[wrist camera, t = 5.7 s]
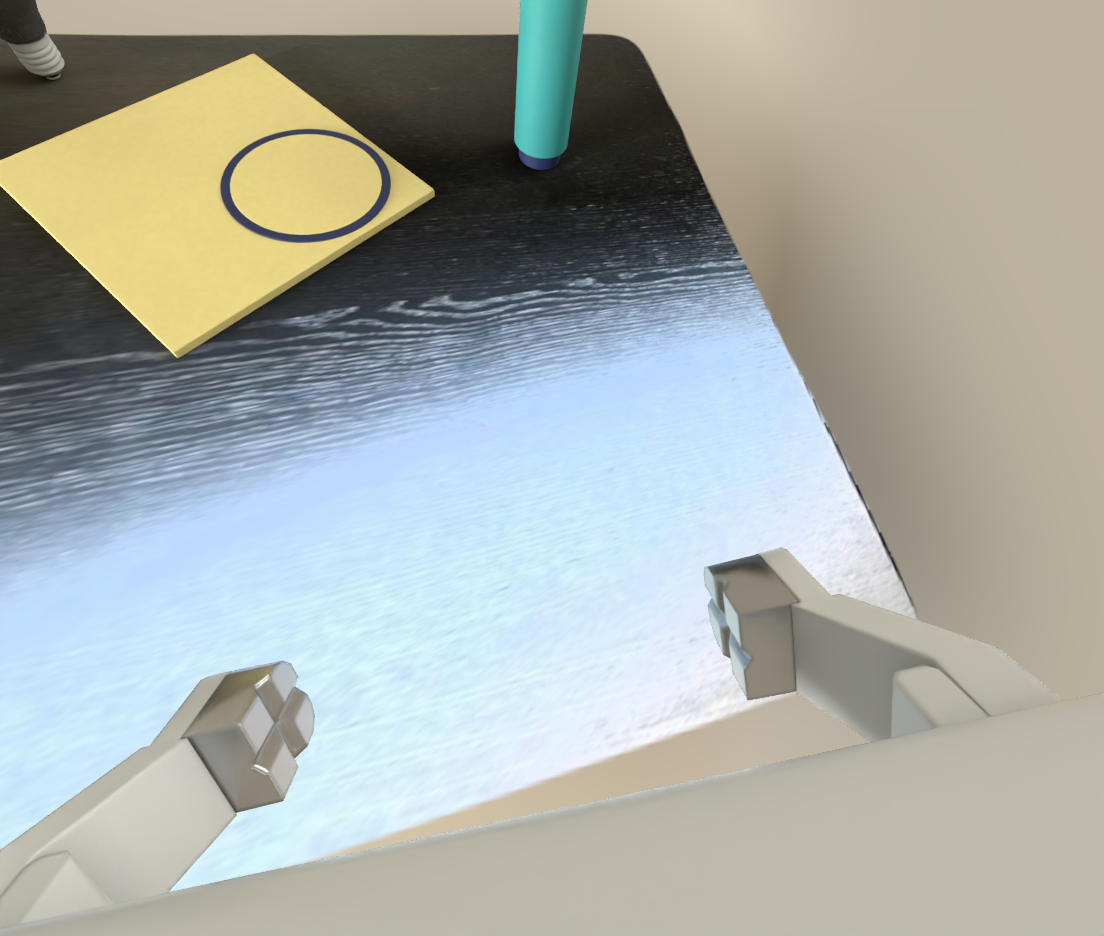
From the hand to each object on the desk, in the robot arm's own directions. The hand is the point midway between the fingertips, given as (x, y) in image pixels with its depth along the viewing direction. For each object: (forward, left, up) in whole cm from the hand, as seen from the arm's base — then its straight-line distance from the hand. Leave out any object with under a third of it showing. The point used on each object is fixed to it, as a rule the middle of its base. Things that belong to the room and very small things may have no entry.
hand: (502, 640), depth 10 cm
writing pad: (-35, +10, -17) cm, 40 cm away
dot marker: (-23, +29, -17) cm, 41 cm away
